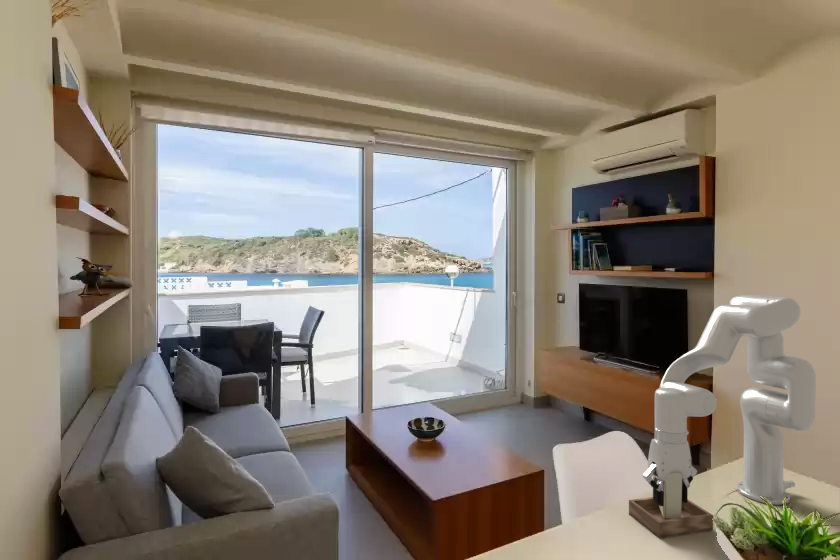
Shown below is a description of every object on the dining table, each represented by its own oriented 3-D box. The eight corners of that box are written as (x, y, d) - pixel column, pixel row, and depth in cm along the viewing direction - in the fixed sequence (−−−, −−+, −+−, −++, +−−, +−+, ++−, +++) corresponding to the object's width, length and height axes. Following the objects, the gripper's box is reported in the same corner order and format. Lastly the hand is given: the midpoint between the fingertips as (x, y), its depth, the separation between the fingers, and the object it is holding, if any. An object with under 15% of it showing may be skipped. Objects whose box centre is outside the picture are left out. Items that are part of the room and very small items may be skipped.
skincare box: (658, 506, 125) (658, 462, 125) (676, 508, 124) (676, 464, 124) (663, 518, 119) (663, 472, 119) (682, 521, 118) (682, 474, 118)
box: (678, 507, 129) (678, 493, 129) (713, 530, 118) (713, 515, 117) (628, 514, 125) (628, 500, 125) (659, 538, 114) (659, 522, 114)
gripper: (687, 428, 127) (686, 491, 127) (632, 433, 123) (632, 499, 123) (709, 437, 119) (709, 505, 120) (652, 443, 116) (651, 513, 116)
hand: (670, 501), depth 121 cm, fingers closed on skincare box, 6 cm apart
